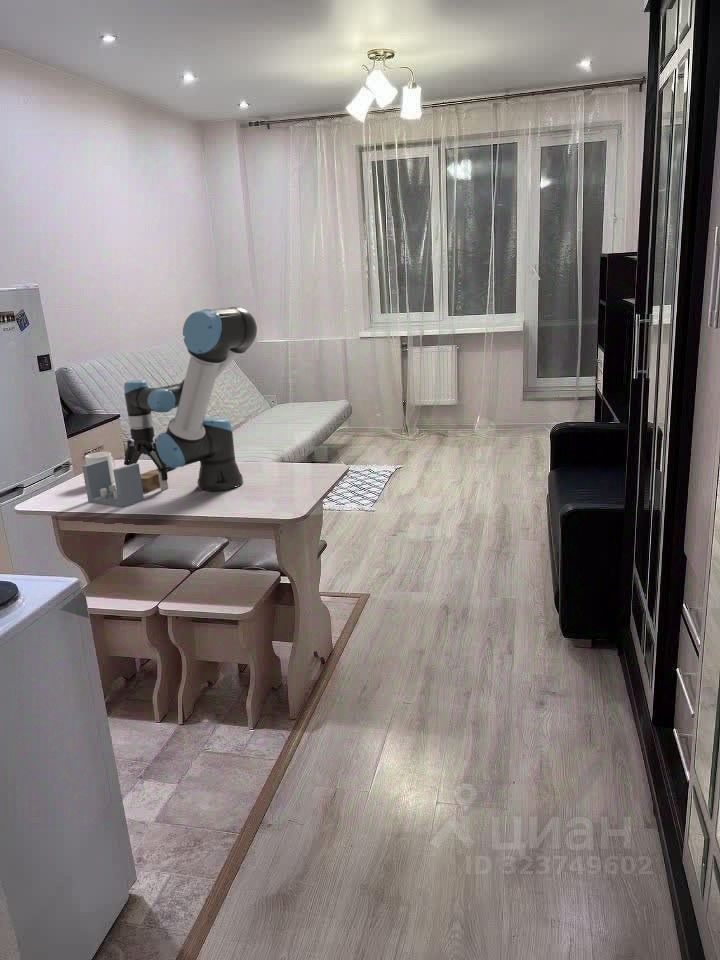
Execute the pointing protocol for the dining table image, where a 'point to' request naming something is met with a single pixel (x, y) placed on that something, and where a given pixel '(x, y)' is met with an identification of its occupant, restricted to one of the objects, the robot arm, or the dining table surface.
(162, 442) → the robot arm
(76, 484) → the dining table surface
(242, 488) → the dining table surface
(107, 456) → the mug
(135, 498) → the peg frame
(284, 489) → the dining table surface
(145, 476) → the brown wooden block
